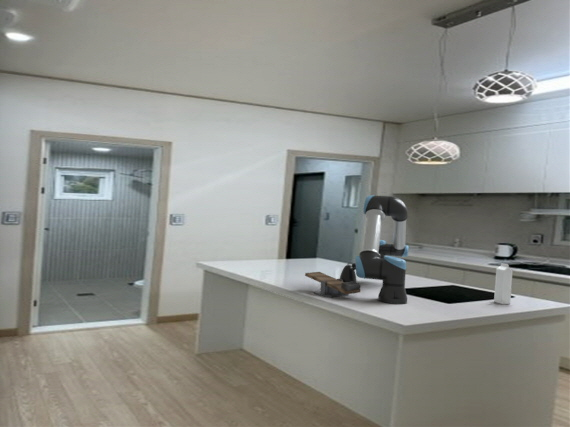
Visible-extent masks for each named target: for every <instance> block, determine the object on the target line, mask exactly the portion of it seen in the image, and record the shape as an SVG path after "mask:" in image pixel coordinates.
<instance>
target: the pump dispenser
mask: <svg viewBox="0 0 570 427" xmlns="http://www.w3.org/2000/svg"><path fill="white" fill-rule="evenodd" d="M339 276H340V277H339V279H343V282H351V281H354V282H357V275H356V268H353V267H352V266H351V265H347V264H345V266H344V267H343V269H342V270H341V273H340V275H339ZM357 283H358V282H357Z"/></svg>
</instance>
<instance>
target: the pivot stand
mask: <svg viewBox="0 0 570 427" xmlns="http://www.w3.org/2000/svg"><path fill="white" fill-rule="evenodd" d="M337 279H338V280H340V281H342V282H343V279H340V278H337ZM313 294H314V295H317V296H321V297H326V298H330V299H333V298H339V297H340V296H341V297H346V296H349V294H345V293H342V292H340V291H338V290H336V289H333V288H331V287H329V286H327V281H323V280H322V281H321V283H320V291H314V292H313Z"/></svg>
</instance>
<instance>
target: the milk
mask: <svg viewBox="0 0 570 427" xmlns="http://www.w3.org/2000/svg"><path fill="white" fill-rule="evenodd" d="M513 272H514V271H513V269H512V268H510V265H509V264H508V263H503V262H501V263H500V265H499V266H498V267H496V269H495V281H494V282H495V284H494V296H493V297H494V298H493V302H494V303H498V304H500V305H511V298H512V287H513V286H512V283H513V274H514V273H513Z"/></svg>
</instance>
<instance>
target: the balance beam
mask: <svg viewBox="0 0 570 427" xmlns="http://www.w3.org/2000/svg"><path fill="white" fill-rule="evenodd" d="M304 276H306V277H307V278H310V279H311V280H314V281H315V282H318V283H320V284H321V281H322V280H323V281H327V286H329V287H331V288H333V289H336V290H338V291H340V292H342V293H345V294H348V295H350V294H356V293H357V294H359V293H361V286H362V285H361V284H362V283H358V282H354V281H351V282H342V281H340V280H338V279H339V278H336V277H332V276H330V275H328V274H326V273H323V272H321V271H315V272H314V271H312V272H305V274H304Z"/></svg>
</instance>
